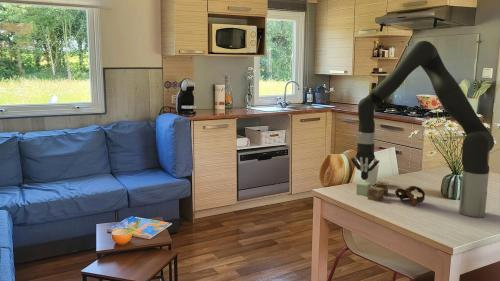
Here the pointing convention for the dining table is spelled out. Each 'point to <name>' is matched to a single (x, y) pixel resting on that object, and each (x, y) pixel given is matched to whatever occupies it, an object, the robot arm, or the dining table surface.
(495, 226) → the dining table surface
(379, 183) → the walnut block one
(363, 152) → the robot arm
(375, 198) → the walnut block two
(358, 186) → the plain block
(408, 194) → the brown looped ring sculpture
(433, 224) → the dining table surface
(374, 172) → the white cup
